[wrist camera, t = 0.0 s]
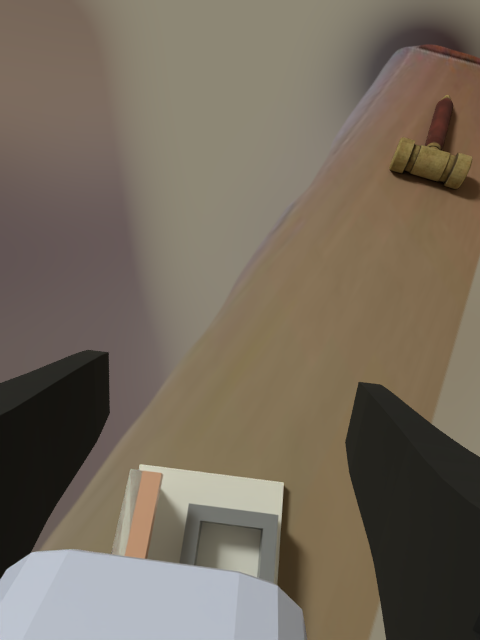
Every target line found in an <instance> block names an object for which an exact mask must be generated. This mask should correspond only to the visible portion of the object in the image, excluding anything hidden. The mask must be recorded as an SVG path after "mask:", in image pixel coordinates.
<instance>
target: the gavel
mask: <svg viewBox="0 0 480 640" xmlns="http://www.w3.org/2000/svg"><path fill="white" fill-rule="evenodd" d="M452 109H453V103H452V101H451V98H450V96H449V95H446V96H445V97H444V98H442V100H441V101H439V102H438V104H437V106H436V109H435V112H434V116H433V119H432V123H431V126H430V130H429V133H428V136H427V140H426V143H425V146H423V145H421V146H418V145H415V144H414V143H415V141H414V140H411V139H407V138H404V137H402V138H401V139H400V141H399V144H398V146H397V149H396V151H395V154H394V156H393V159H392V162H391V164H390V167H389V168H390V170H392V171H395V172H399V173H402V172H403V171H408V172H410V174H414V175H417V176H420V177H424V178H427V179H431V180H434V181H442V182H444V185H443V186H446V187H449V188H453V189H458V188H459V187H460V186H461V184H462V183H463V181H464V180H465V178H466V176H467V174H468V171H469V169H470V166H471V163H472V157H471V156H468V155H464V154H461V153H457V155H456V156H454V155H450V153H448V152H444V151H441V149H442V148H443V145H444V141H445V137H446V133H447V129H448V125H449V121H450V117H451V113H452Z"/></svg>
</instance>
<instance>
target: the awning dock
mask: <svg viewBox="0 0 480 640" xmlns="http://www.w3.org/2000/svg"><path fill="white" fill-rule="evenodd" d="M283 487H284V483H283V482H275V481H267V480H260V479H252V478H244V477H236V476H228V475H220V474H212V473H205V472H197V471H189V470H181V469H173V468H165V467H157V466H149V465H142V464H140V466H139V470H135V469H130V474H129V478H128V482H127V487H126V491H125V495H124V500H123V504H122V509H121V513H120V517H119V522H118V526H117V530H116V535H115V539H114V543H113V548H112V552H111V554H113V555H121V556H128V557H136V558H143V559H151V560H158V561H165V562H173V563H180V564H188V565H195V566H203V567H210V568H217V569H225V570H232V571H239V572H242V573H245V574H248V575H251V576H254V577H257V578H260V579H263V580H266V581H269V582H272V583H274V584H276V585H277V581H278V565H279V550H280V534H281V518H282V503H283Z"/></svg>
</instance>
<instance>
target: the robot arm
mask: <svg viewBox="0 0 480 640" xmlns="http://www.w3.org/2000/svg"><path fill="white" fill-rule="evenodd" d="M108 355H109V353H108V352H101V351H93V350H86V351H82V352H79V353H76V354H74V355H71V356H68V357H66V358H64V359H61V360H59V361H56V362H54V363H51V364H49V365H46V366H44V367H42V368H39V369H37V370H34V371H32V372H30V373H27V374H24V375H21V376H19V377H16V378H13V379H10V380H8V381H5V382H2V383H0V640H307V635H306V629H305V623H304V617H303V611H302V609H301V608H300V607H299V606H298V605H297V604H296V603H295V602H294V601H293V600H292V599H291V598H290V597H289V596H288V595H287V594H286V593H285V592H284V591H282V590H281V589H280V588H279V587H278V586H277V585H276V584H274V583H272V582H269V581H266V580H263V579H260V578H257V577H254V576H251V575H248V574H245V573H242V572H239V571H232V570H225V569H217V568H210V567H203V566H195V565H188V564H180V563H173V562H165V561H158V560H151V559H143V558H136V557H128V556H121V555H113V554H106V553H99V552H91V551H84V550H76V549H66V550H51V551H38V552H33V553H31V551H32V549H33V547H34V545H35V543H36V541H37V539H38V537H39V535H40V533H41V531H42V529H43V527H44V525H45V524H46V522H47V520H48V518H49V516H50V515H51V513H52V511H53V509H54V508H55V506H56V504H57V503H58V501H59V500H60V498H61V497H62V495H63V494H64V492H65V490H66V489H67V487H68V486H69V484H70V483H71V481H72V480H73V478H74V476H75V475H76V473H77V472H78V470H79V469H80V467H81V466H82V464H83V463H84V461H85V460H86V458H87V456H88V455H89V453H90V452H91V450H92V448H93V447H94V445H95V443H96V442H97V440H98V438H99V436H100V434H101V432H102V429H103V427H104V425H105V423H106V420H107V418H108V416H109V413H110V409H109V408H110V407H109V356H108ZM345 443H346V451H347V459H348V466H349V473H350V477H351V481H352V485H353V488H354V492H355V495H356V499H357V503H358V506H359V510H360V513H361V517H362V520H363V524H364V527H365V531H366V534H367V538H368V541H369V545H370V549H371V553H372V557H373V562H374V567H375V572H376V578H377V584H378V590H379V596H380V601H381V608H382V614H383V621H384V627H385V634H386V640H480V457H479V456H477V455H476V454H474V453H472V452H470V451H469V450H468V449H466V448H465V447H463V446H461V445H460V444H459V443H457V442H456V441H454V440H453V439H451V438H450V437H449V436H447V435H446V434H444V433H443V432H442V431H440V430H439V429H437V428H436V427H435V426H433V425H432V424H431V423H430V422H428V421H427V420H426V419H424V418H423V417H422V416H421V415H419V414H418V413H417V412H416V411H414V410H413V409H412V408H411V407H409V406H408V405H407V404H406V403H404V402H403V401H402V400H401V399H399V398H398V397H397V396H396V395H394V394H393V393H392V392H391V391H389V390H388V389H387V388H385V387H384V386H382V385H380V384H371V383H363V382H359V383H358V388H357V392H356V397H355V401H354V406H353V410H352V415H351V419H350V424H349V428H348V433H347V437H346V442H345Z"/></svg>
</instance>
